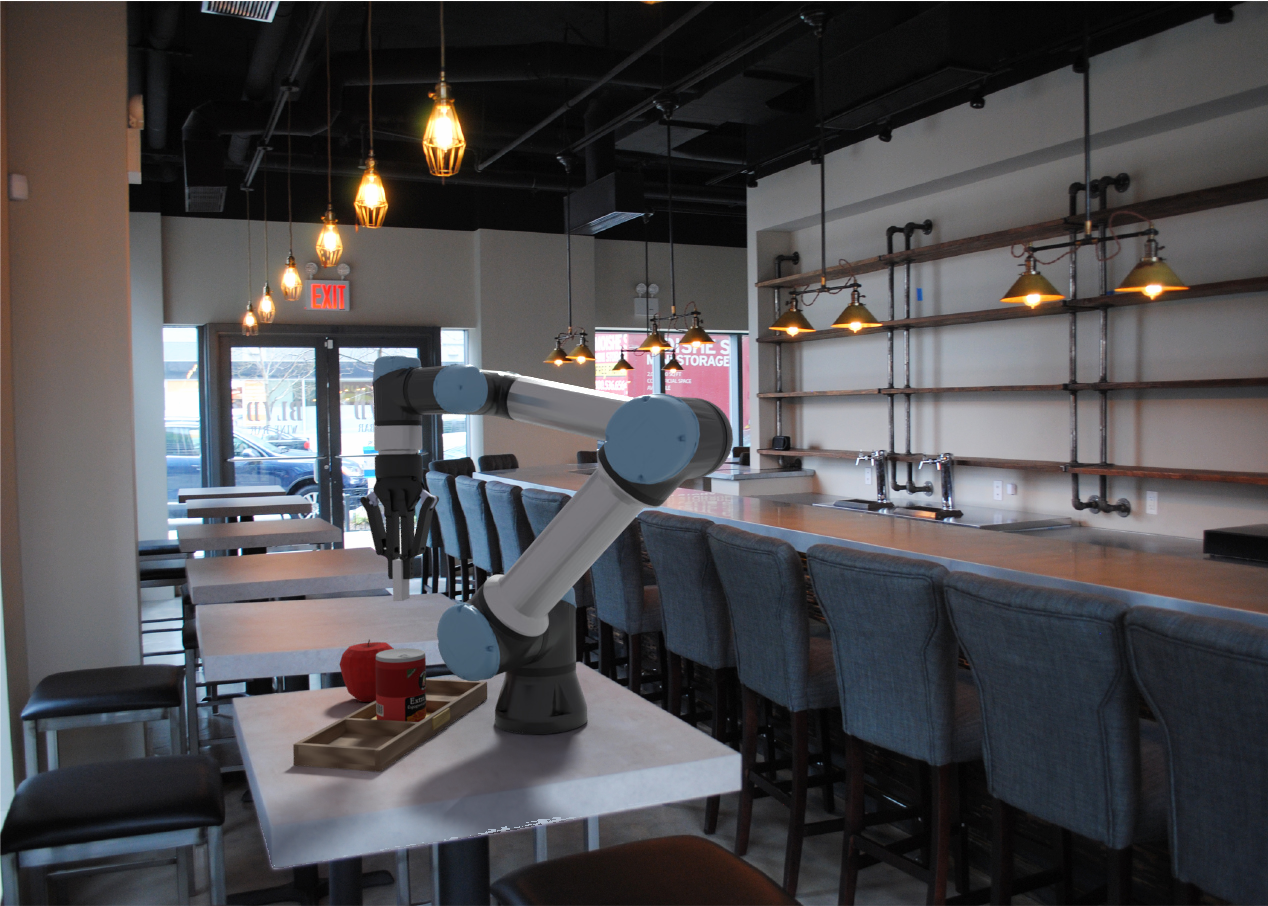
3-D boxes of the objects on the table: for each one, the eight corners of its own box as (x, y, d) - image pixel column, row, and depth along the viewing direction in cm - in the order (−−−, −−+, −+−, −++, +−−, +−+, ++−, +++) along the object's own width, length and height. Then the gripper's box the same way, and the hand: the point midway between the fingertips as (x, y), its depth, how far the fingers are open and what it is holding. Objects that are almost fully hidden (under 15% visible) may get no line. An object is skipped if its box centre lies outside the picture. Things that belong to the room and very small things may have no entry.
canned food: (414, 729, 150) (413, 659, 150) (367, 726, 151) (366, 657, 151) (434, 715, 157) (433, 648, 157) (389, 713, 159) (388, 647, 159)
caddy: (488, 698, 172) (488, 681, 172) (382, 771, 134) (381, 750, 134) (417, 694, 175) (417, 678, 175) (293, 765, 137) (293, 744, 137)
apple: (388, 689, 179) (388, 631, 179) (404, 701, 171) (403, 640, 171) (334, 697, 174) (334, 637, 174) (348, 709, 166) (347, 646, 166)
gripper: (446, 452, 156) (448, 596, 156) (373, 453, 159) (376, 595, 159) (425, 452, 149) (428, 604, 149) (349, 453, 152) (352, 602, 152)
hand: (401, 599), depth 154 cm, fingers closed
